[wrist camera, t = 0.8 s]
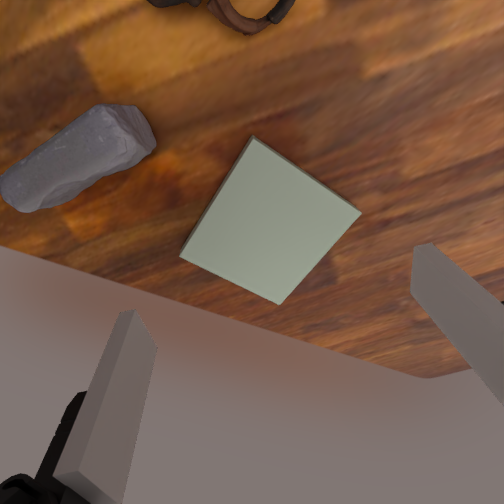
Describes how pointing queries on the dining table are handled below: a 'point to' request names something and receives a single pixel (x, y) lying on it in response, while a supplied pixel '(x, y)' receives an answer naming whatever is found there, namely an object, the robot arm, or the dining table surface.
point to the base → (267, 224)
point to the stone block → (78, 157)
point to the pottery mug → (235, 14)
